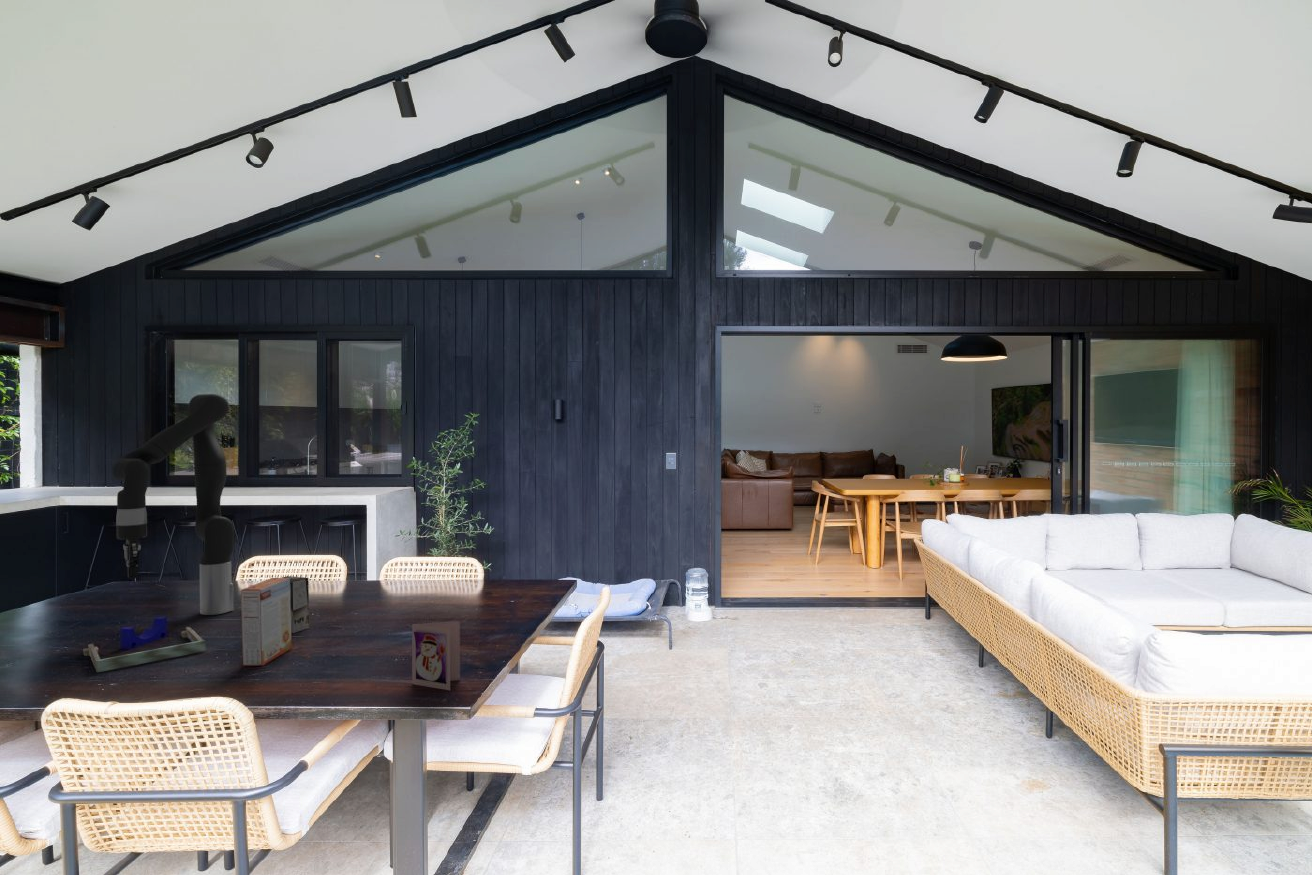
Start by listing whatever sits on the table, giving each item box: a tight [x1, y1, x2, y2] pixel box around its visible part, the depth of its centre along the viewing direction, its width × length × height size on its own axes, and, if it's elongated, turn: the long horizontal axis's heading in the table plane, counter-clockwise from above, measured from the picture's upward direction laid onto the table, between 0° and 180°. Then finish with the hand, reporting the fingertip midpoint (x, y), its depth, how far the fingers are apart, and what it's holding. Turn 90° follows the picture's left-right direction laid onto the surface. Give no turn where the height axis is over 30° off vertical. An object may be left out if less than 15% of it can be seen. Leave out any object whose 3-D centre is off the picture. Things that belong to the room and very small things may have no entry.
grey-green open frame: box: [82, 626, 206, 673], centre depth 193 cm, size 26×22×3 cm
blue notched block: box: [120, 616, 168, 650], centre depth 201 cm, size 12×4×6 cm, turn 169°
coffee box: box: [281, 575, 310, 634], centre depth 214 cm, size 9×6×16 cm
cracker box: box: [240, 577, 292, 667], centre depth 188 cm, size 14×6×21 cm, turn 178°
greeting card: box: [411, 620, 461, 691], centre depth 169 cm, size 11×7×15 cm, turn 69°
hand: (132, 578), depth 211 cm, fingers closed
